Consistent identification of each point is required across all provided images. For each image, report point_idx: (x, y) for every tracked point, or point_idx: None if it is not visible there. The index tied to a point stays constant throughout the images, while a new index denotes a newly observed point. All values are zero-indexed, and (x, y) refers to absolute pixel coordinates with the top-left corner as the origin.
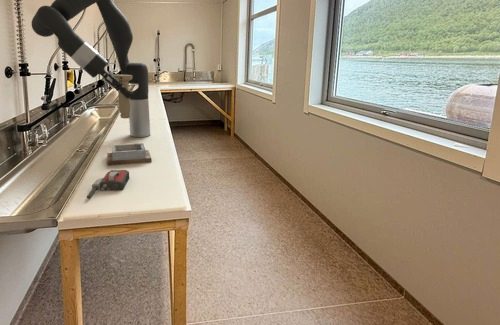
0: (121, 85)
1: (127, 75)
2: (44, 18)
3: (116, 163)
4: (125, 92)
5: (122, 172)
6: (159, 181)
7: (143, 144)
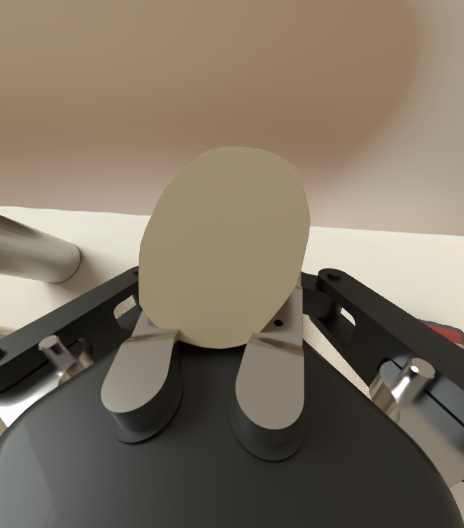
0: (345, 278)
1: (271, 185)
2: None
3: None
4: None
5: None
6: (403, 263)
7: None
